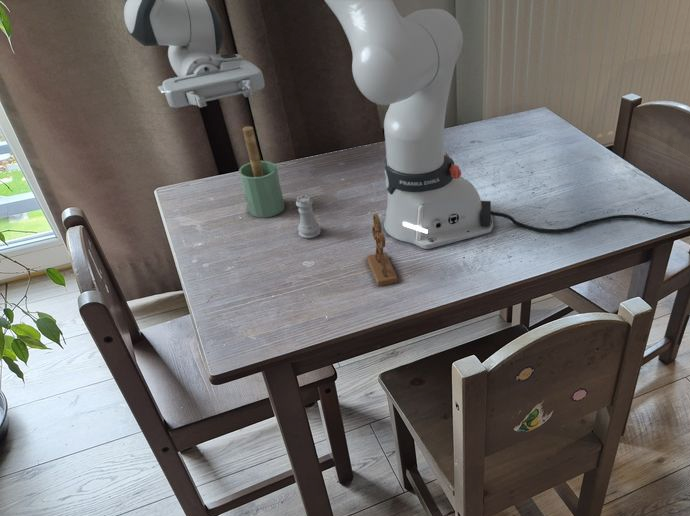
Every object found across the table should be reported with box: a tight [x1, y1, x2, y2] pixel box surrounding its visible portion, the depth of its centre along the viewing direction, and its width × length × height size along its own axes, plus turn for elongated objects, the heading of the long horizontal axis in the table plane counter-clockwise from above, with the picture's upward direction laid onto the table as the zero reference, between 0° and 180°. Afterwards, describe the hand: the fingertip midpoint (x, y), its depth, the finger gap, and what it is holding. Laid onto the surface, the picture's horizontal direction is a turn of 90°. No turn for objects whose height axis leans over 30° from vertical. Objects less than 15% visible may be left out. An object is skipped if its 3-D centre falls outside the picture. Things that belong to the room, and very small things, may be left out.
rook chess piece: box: [295, 194, 322, 240], centre depth 125 cm, size 4×4×8 cm
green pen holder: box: [238, 160, 286, 218], centre depth 132 cm, size 7×7×9 cm
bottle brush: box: [242, 125, 264, 177], centre depth 129 cm, size 4×4×17 cm
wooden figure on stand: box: [366, 213, 399, 287], centre depth 115 cm, size 9×4×12 cm, turn 20°
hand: (226, 98), depth 129 cm, fingers open, 8 cm apart
